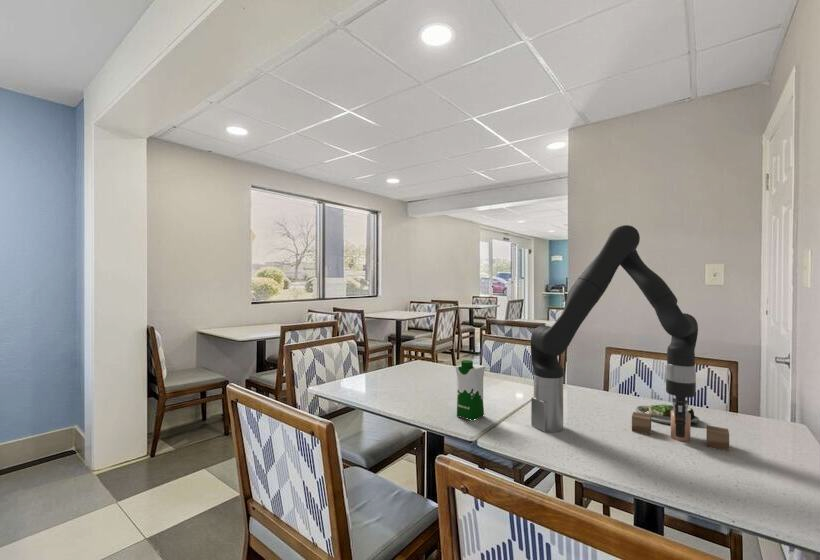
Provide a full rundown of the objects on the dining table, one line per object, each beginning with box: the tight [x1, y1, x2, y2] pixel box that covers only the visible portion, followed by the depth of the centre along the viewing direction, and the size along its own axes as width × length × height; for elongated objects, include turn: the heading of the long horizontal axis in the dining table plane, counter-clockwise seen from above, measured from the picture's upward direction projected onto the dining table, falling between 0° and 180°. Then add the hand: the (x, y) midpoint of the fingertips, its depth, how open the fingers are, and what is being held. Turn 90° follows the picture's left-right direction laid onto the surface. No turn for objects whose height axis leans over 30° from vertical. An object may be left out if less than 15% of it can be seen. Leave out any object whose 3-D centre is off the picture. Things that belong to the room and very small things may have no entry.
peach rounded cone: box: [670, 410, 692, 443], centre depth 119 cm, size 5×5×8 cm
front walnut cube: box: [706, 424, 730, 452], centre depth 114 cm, size 5×5×5 cm
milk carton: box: [455, 359, 486, 420], centre depth 139 cm, size 9×9×20 cm
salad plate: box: [635, 403, 702, 425], centre depth 137 cm, size 19×18×5 cm
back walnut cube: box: [631, 411, 652, 436], centre depth 126 cm, size 5×5×5 cm
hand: (680, 432), depth 119 cm, fingers open, 6 cm apart
